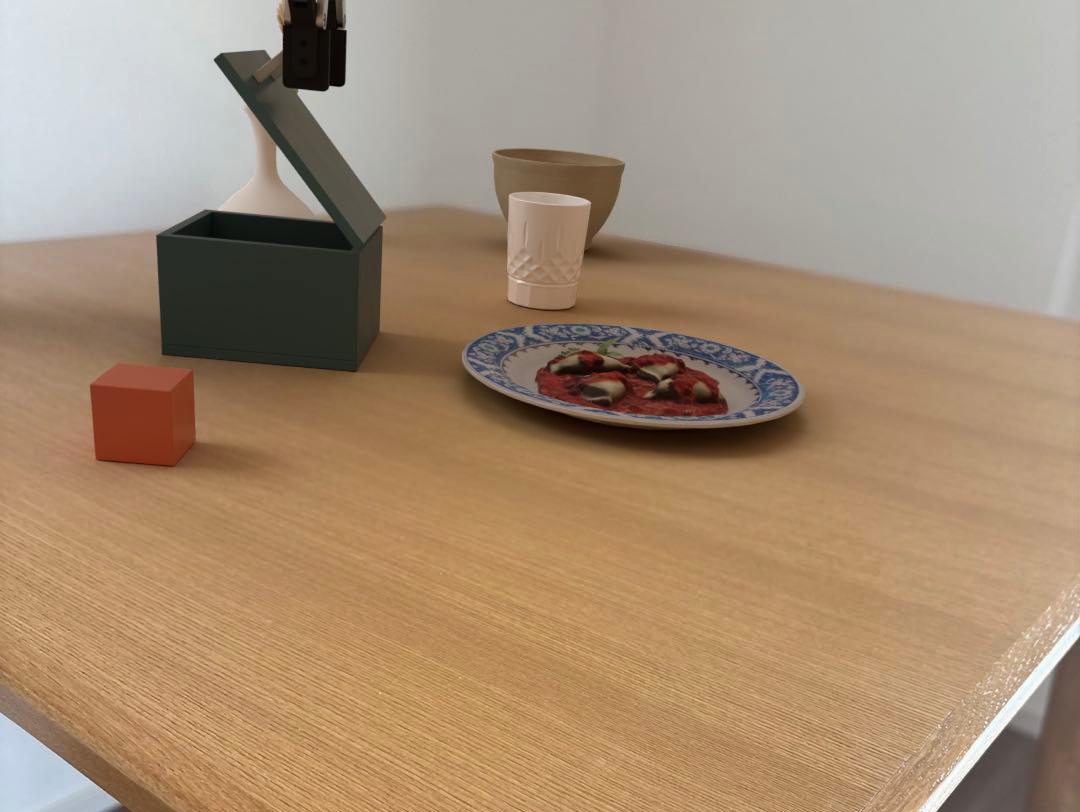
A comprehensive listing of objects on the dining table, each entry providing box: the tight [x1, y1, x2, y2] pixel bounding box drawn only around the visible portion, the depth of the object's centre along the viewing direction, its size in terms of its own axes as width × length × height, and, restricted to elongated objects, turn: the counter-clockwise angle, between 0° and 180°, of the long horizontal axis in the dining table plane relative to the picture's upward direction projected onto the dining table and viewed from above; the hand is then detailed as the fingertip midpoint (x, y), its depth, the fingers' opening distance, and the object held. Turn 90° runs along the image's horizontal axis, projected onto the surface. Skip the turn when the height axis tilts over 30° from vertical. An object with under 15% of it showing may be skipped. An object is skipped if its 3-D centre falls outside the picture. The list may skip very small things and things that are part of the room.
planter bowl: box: [491, 147, 626, 251], centre depth 139 cm, size 16×16×11 cm
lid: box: [213, 49, 387, 250], centre depth 84 cm, size 15×13×6 cm
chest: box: [155, 208, 384, 372], centre depth 89 cm, size 15×13×9 cm
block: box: [89, 362, 197, 467], centre depth 66 cm, size 4×4×4 cm
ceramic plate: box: [461, 323, 807, 431], centre depth 85 cm, size 26×26×3 cm
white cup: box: [506, 192, 591, 311], centre depth 110 cm, size 8×8×10 cm
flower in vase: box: [217, 0, 317, 220], centre depth 128 cm, size 13×11×25 cm
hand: (315, 84), depth 83 cm, fingers closed on lid, 6 cm apart
